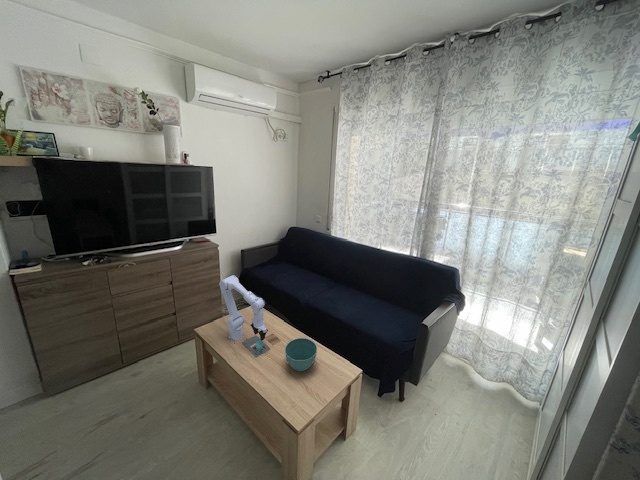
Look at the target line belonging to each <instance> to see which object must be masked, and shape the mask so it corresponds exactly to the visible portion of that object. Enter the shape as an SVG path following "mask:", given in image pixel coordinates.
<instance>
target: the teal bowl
mask: <svg viewBox="0 0 640 480" xmlns="http://www.w3.org/2000/svg"><path fill="white" fill-rule="evenodd" d="M284 353H285V358H286V360H287V362H288V364H289V366H290V367H291V368H292V369H293V370H295V371H296V372H305V371H306V370H308V369H309V368H310V367H312V365H313V364H314V362H315V359H316V357H317V353H318V346H317V344H316V343H315V342H314V341H313V340H312V339H309V338H304V337H300V338H294V339H292V340H290V341H289V342H288V343H287V344H286V345H285V349H284Z"/></svg>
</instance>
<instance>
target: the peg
mask: <svg viewBox="0 0 640 480" xmlns="http://www.w3.org/2000/svg"><path fill="white" fill-rule="evenodd" d="M263 342H264V340H262V341H261V339H257V340H256V348H255V351H256V352H257V353H259V352H261V351H263V350H264V347H263Z"/></svg>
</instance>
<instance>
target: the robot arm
mask: <svg viewBox="0 0 640 480" xmlns="http://www.w3.org/2000/svg"><path fill="white" fill-rule="evenodd" d="M218 285H219V288H220V292H221V293H222V296H223V298H224V302H225V305H226V308H227V310H228V314H229V315H228V317H227V320H226V321H227V328H228V332H229V335H228V339H229V340H231V342H232V343H233V344H234V345H236V343H235V341H241V340H242V339H243V337H244V332H243V326H244V324H245V322H246V321H245V317H244V316H243V314H242V313H241V312H238V309H237V305H236V302H235V299H234V296H233V293H232V290H235V291H237V293H239V294H241V296H242V297H243V299H244V301H246V302H247V303H248V305H250V307H251V310H252V313H253V318H252V319H251V324H250V326H251V328H252V330H253V333H254V336H255V335H259V338H260V339H261V341H264V340H266V339H265V337H266V335H267V333H268V331H269V330H268V329H267V327H266V325H265V324H266V321H265V320H264V307H265V304H266V301H265V299H263V298H262V297H258V296H257V295H256V294H254V293H253V292H252V291H250V290H249V291H248V290H247V289H246V288H245V287H244V286H243V285H242V284H241V283H240V280H239V278H238V277H237V276H236V275H235V274H234V275H231V276H228V277H226V278H224V279H221V280H219V283H218Z"/></svg>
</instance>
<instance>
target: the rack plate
mask: <svg viewBox="0 0 640 480" xmlns="http://www.w3.org/2000/svg"><path fill="white" fill-rule="evenodd" d="M257 339H260V336H258V334H256V335H255V334H254V335H253V336H252V337H249V338H247V339H246V340H243V341H241V342H242V345H243V346H244V347H245V348H246V349H247V350H248V351H249V352H250V353H251V354H252V355H253V356H254V357H255V358H258V357H260V356H262V355H263V354H265V353H268V352H269V351H270V350H271V347H270V346H268V345H267V343H265V341H263V350H262V351H261V352H257V351H256V340H257Z"/></svg>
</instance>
